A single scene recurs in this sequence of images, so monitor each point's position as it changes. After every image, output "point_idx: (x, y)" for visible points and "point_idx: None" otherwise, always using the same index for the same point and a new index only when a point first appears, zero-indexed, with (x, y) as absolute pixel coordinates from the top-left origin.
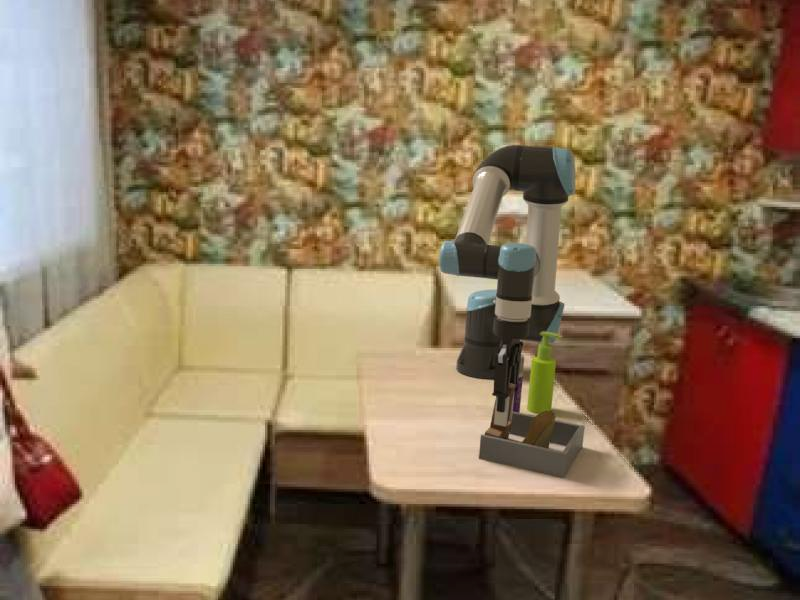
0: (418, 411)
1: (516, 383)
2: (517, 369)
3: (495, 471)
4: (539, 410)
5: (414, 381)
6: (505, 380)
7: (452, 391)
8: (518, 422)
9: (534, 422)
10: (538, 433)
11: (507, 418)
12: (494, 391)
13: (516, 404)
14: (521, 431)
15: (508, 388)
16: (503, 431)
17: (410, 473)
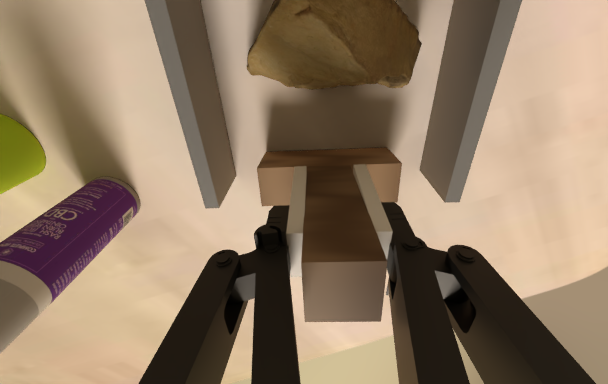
0: (253, 322)
1: (237, 262)
2: (202, 346)
3: (504, 107)
4: (24, 140)
5: (131, 360)
6: (560, 350)
7: (112, 314)
8: (216, 153)
9: (379, 61)
10: (402, 23)
11: (358, 176)
12: (473, 305)
13: (95, 200)
14: (222, 132)
15: (412, 273)
16: (344, 164)
17: (554, 248)
